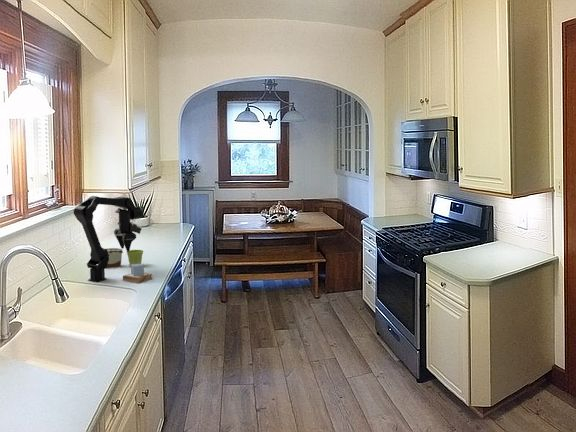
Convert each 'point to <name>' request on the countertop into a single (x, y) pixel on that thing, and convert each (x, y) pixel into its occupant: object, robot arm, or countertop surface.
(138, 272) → the block
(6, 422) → the countertop surface
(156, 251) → the countertop surface
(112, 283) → the countertop surface
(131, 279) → the base
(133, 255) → the plant pot
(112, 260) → the food container
